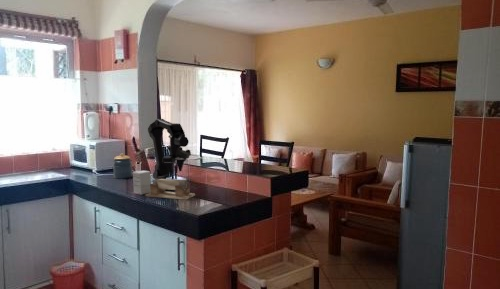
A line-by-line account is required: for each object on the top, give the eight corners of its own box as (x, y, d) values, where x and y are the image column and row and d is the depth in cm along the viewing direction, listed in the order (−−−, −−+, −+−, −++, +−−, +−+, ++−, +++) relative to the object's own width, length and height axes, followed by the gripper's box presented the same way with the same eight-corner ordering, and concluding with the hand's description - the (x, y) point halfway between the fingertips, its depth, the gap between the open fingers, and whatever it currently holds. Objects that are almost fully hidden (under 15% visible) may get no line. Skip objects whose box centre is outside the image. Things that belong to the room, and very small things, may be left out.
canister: (128, 178, 264) (127, 154, 262) (110, 178, 264) (109, 154, 262) (134, 175, 277) (133, 151, 275) (117, 175, 277) (116, 152, 275)
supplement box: (144, 191, 222) (143, 170, 221) (151, 192, 218) (150, 171, 216) (133, 193, 217) (132, 171, 215) (140, 194, 212) (139, 173, 211)
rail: (156, 187, 213) (156, 178, 213) (187, 189, 206) (187, 180, 206) (153, 188, 210) (152, 179, 209) (184, 190, 203) (183, 181, 202)
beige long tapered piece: (155, 192, 217) (155, 180, 217) (195, 195, 209) (194, 183, 208) (145, 196, 208) (144, 184, 207) (186, 199, 199) (185, 186, 199)
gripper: (179, 147, 201) (180, 176, 202) (195, 144, 218) (196, 170, 220) (161, 147, 205) (162, 175, 206) (179, 144, 222) (179, 169, 224)
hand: (176, 172), depth 214 cm, fingers open, 9 cm apart
